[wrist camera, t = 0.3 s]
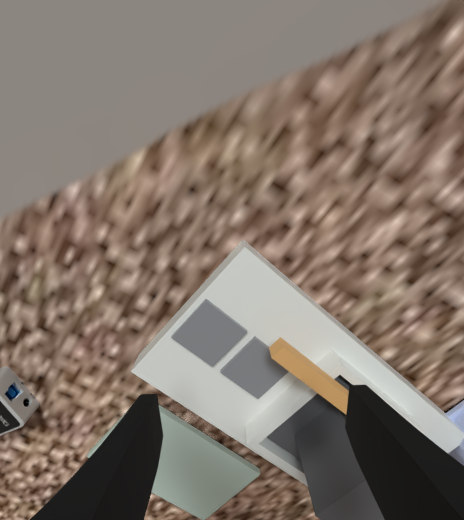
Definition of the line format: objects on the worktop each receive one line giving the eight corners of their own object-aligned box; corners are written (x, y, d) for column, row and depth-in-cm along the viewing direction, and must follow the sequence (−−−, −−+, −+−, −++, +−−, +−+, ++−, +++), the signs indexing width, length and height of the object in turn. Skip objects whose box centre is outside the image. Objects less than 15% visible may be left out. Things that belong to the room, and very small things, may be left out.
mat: (259, 468, 25) (260, 474, 25) (204, 514, 27) (203, 520, 26) (143, 394, 22) (141, 399, 22) (89, 450, 24) (86, 456, 24)
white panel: (450, 417, 24) (486, 457, 20) (346, 492, 26) (363, 538, 23) (243, 239, 19) (246, 253, 15) (139, 353, 21) (123, 387, 18)
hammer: (440, 447, 22) (469, 484, 19) (419, 461, 22) (445, 499, 20) (281, 318, 18) (290, 343, 15) (260, 339, 18) (266, 365, 16)
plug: (393, 416, 21) (455, 506, 15) (326, 467, 23) (360, 567, 17) (331, 366, 20) (374, 446, 14) (263, 424, 21) (277, 518, 15)
